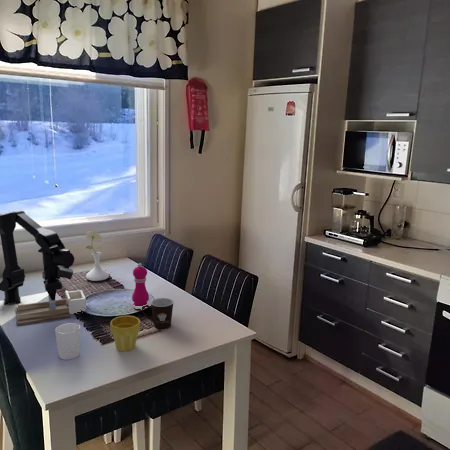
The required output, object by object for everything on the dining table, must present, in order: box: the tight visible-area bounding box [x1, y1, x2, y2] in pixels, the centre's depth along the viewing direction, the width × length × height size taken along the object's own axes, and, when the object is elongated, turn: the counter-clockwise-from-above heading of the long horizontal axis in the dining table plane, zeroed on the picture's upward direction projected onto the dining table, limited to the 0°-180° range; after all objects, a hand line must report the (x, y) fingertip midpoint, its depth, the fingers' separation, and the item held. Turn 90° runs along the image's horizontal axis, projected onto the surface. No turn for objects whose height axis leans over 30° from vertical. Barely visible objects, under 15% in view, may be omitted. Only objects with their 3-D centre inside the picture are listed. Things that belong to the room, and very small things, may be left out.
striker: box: [47, 293, 56, 310], centre depth 184 cm, size 7×2×8 cm, turn 26°
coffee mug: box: [141, 297, 174, 331], centre depth 174 cm, size 12×9×10 cm
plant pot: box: [109, 315, 141, 352], centre depth 157 cm, size 10×10×10 cm
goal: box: [64, 289, 87, 315], centre depth 188 cm, size 11×7×7 cm, turn 26°
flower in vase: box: [85, 230, 110, 282], centre depth 223 cm, size 13×11×25 cm
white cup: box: [54, 322, 81, 361], centre depth 150 cm, size 8×8×10 cm
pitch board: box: [16, 298, 71, 327], centre depth 183 cm, size 17×20×3 cm
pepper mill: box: [131, 262, 150, 306], centre depth 190 cm, size 7×7×20 cm
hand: (53, 299), depth 184 cm, fingers closed on striker, 2 cm apart
